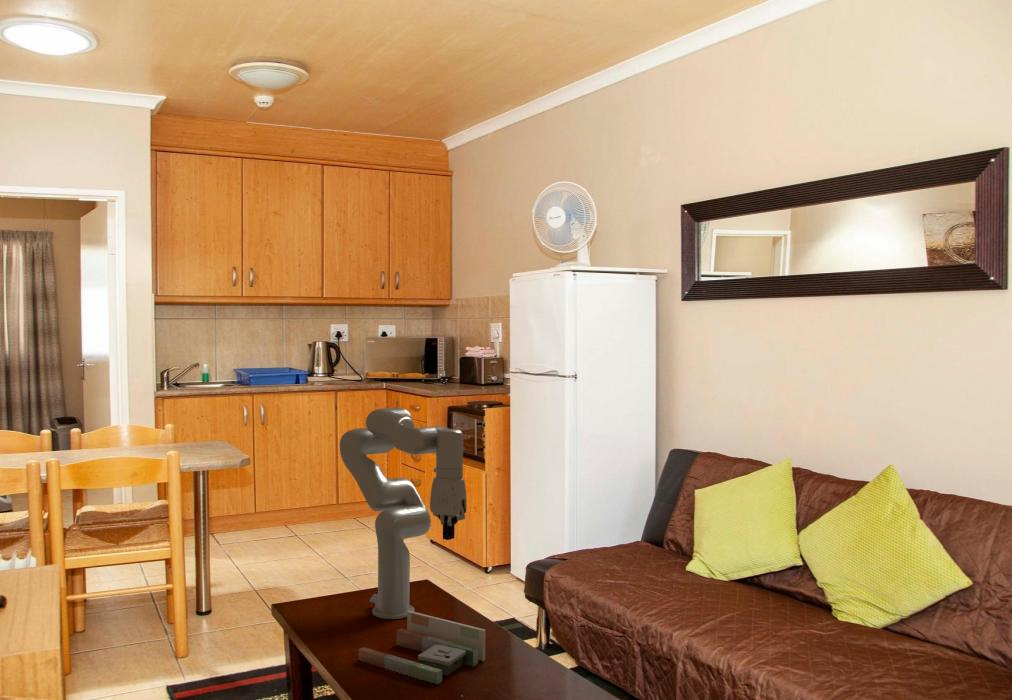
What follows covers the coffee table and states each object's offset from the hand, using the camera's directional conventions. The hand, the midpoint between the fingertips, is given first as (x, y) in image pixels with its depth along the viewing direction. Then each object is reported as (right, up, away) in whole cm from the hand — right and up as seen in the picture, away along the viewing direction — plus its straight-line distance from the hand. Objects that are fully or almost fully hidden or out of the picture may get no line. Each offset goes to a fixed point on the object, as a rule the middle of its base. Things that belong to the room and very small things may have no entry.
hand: (448, 538), depth 243 cm
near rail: (-11, -27, -27) cm, 40 cm away
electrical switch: (+4, -26, -26) cm, 37 cm away
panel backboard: (0, -27, -12) cm, 30 cm away
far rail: (-2, -27, -15) cm, 31 cm away
